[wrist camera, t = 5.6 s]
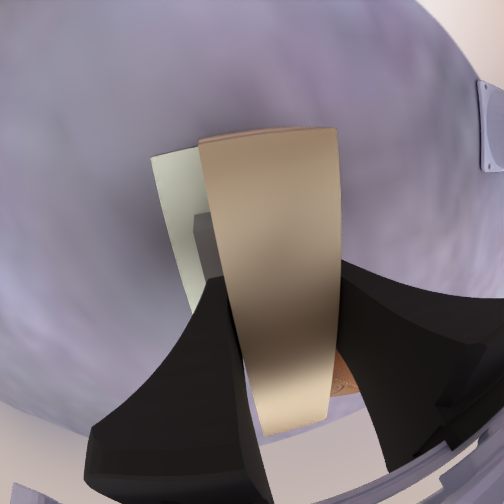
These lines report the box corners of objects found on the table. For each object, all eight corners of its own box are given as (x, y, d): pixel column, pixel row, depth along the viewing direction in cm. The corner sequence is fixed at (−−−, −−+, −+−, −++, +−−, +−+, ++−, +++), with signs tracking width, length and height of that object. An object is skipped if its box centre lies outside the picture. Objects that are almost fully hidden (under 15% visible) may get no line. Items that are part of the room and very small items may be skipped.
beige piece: (296, 350, 15) (325, 419, 11) (246, 362, 15) (264, 436, 10) (276, 126, 10) (336, 128, 5) (199, 138, 10) (197, 144, 5)
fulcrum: (308, 131, 13) (334, 132, 10) (318, 292, 17) (337, 320, 15) (152, 156, 12) (139, 163, 10) (196, 319, 17) (197, 353, 14)
